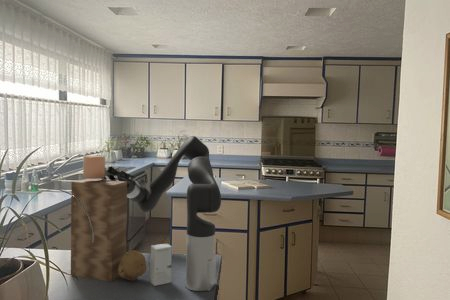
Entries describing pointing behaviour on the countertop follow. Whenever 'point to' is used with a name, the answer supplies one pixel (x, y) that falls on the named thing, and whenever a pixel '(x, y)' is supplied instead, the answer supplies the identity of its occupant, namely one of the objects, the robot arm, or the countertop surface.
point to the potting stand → (98, 228)
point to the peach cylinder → (95, 167)
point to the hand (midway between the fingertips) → (105, 168)
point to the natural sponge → (132, 265)
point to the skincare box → (160, 264)
